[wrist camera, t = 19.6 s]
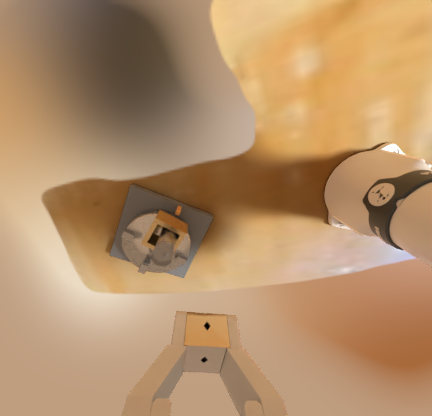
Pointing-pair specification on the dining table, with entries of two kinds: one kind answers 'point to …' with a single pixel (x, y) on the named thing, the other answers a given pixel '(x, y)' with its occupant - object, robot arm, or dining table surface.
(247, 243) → the dining table surface
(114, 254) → the base
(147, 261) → the grey round chuck
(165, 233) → the steel pin
